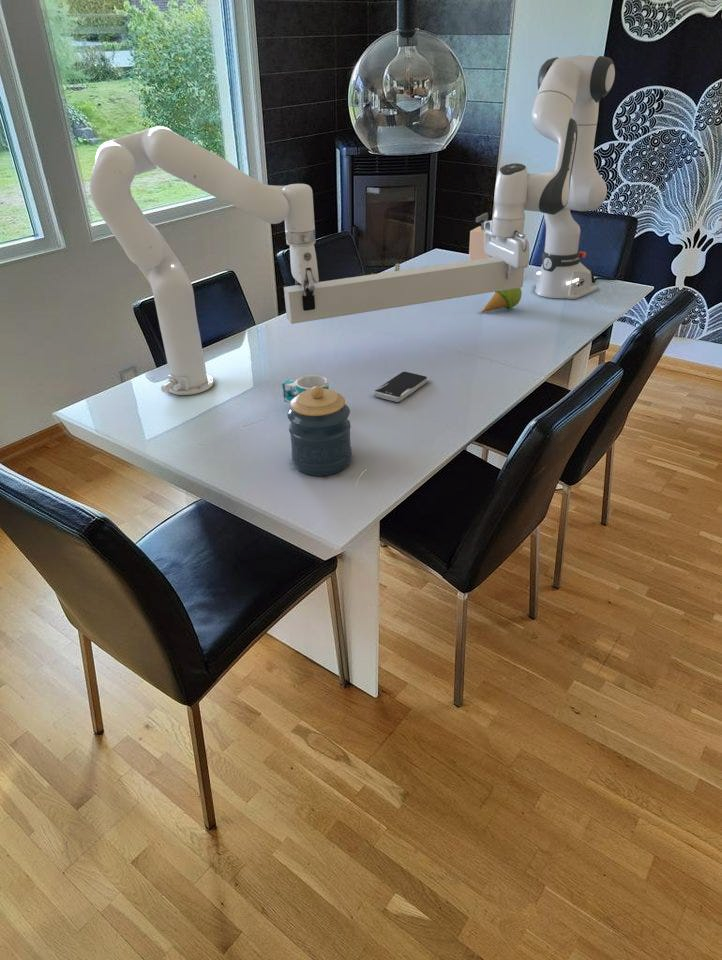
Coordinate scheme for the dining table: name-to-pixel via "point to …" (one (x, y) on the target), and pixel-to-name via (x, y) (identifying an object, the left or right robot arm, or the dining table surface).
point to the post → (401, 288)
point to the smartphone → (400, 386)
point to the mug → (302, 386)
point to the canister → (320, 432)
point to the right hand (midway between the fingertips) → (504, 276)
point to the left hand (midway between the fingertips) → (305, 305)
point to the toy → (504, 299)
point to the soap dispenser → (478, 240)
